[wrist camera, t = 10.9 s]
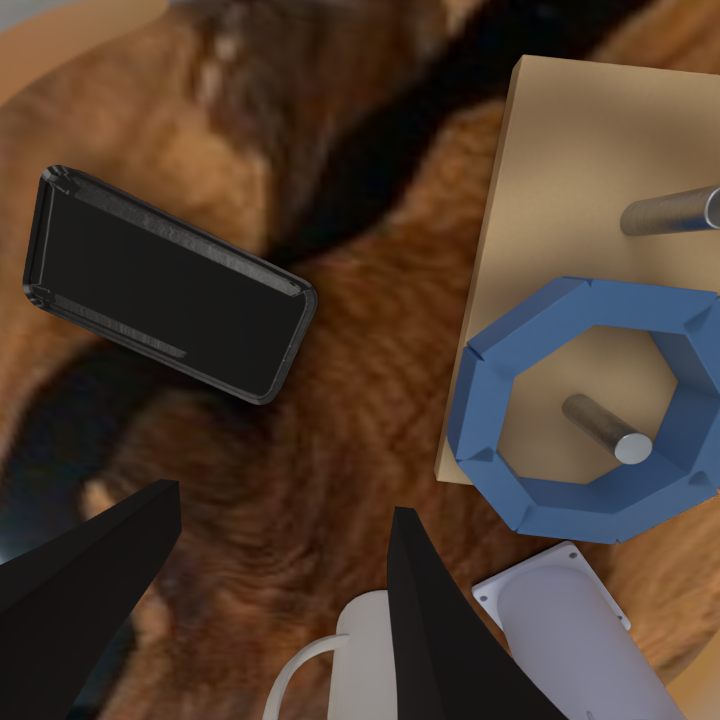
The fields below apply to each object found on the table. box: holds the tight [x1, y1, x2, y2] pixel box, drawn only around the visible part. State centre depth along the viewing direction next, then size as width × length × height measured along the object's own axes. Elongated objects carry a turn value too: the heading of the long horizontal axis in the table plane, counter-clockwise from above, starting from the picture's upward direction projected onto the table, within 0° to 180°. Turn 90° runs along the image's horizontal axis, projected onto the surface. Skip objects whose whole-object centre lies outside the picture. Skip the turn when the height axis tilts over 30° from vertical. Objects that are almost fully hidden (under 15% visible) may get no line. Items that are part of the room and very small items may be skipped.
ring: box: [446, 275, 720, 545], centre depth 18 cm, size 14×14×3 cm
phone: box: [23, 165, 318, 405], centre depth 19 cm, size 8×1×15 cm
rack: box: [434, 55, 720, 485], centre depth 16 cm, size 22×14×6 cm, turn 174°
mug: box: [262, 590, 398, 720], centre depth 21 cm, size 12×8×10 cm, turn 55°
